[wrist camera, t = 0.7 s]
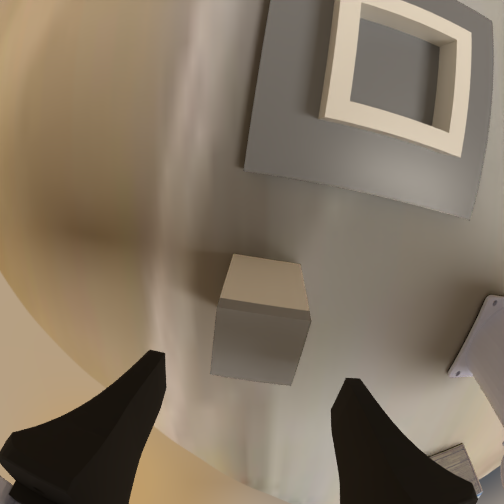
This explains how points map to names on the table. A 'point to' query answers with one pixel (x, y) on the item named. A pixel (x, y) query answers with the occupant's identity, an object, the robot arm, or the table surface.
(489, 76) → the outlet plate
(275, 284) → the block
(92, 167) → the table surface
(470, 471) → the medicine box
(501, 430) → the table surface
